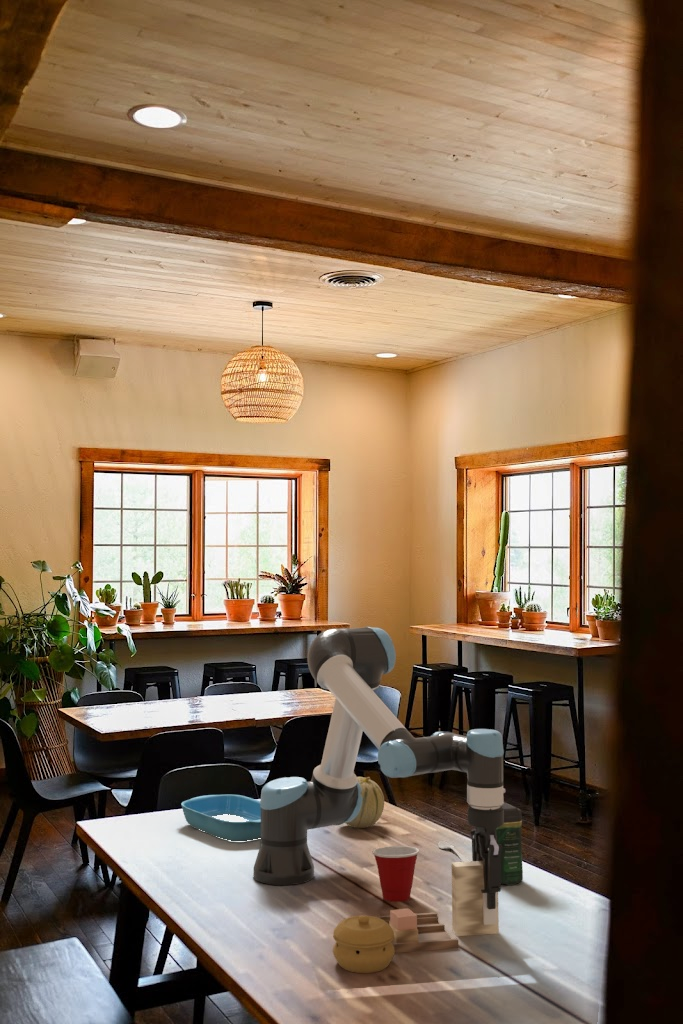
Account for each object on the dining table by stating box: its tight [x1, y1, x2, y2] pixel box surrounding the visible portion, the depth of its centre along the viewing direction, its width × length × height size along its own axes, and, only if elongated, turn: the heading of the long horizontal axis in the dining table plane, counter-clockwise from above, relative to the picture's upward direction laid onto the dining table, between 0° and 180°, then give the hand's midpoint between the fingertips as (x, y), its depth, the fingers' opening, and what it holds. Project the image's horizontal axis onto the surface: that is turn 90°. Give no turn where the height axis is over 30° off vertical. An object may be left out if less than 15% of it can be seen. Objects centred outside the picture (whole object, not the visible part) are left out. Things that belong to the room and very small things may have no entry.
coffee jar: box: [496, 800, 524, 886], centre depth 240 cm, size 10×8×19 cm
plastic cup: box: [372, 845, 420, 903], centre depth 223 cm, size 11×11×12 cm
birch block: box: [451, 861, 500, 937], centre depth 201 cm, size 9×3×14 cm, turn 100°
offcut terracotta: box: [389, 908, 417, 931], centre depth 196 cm, size 4×4×2 cm
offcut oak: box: [389, 921, 418, 943], centre depth 196 cm, size 4×6×3 cm
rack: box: [376, 912, 459, 954], centre depth 199 cm, size 13×16×3 cm
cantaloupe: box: [345, 776, 385, 829], centre depth 290 cm, size 15×15×15 cm
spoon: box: [437, 840, 470, 862], centre depth 261 cm, size 4×21×2 cm, turn 18°
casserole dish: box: [180, 794, 261, 841], centre depth 287 cm, size 37×22×7 cm, turn 40°
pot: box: [332, 914, 395, 974], centre depth 185 cm, size 12×12×10 cm
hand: (486, 920), depth 202 cm, fingers open, 3 cm apart
